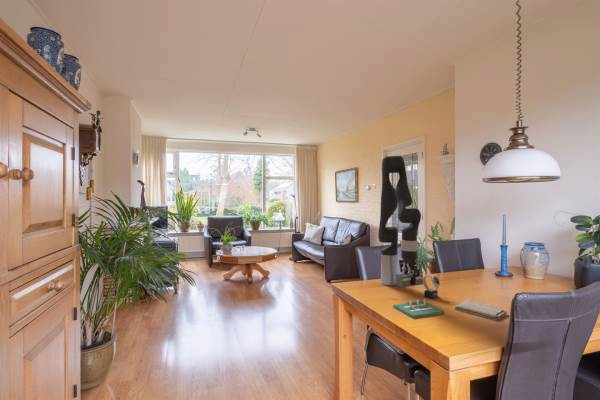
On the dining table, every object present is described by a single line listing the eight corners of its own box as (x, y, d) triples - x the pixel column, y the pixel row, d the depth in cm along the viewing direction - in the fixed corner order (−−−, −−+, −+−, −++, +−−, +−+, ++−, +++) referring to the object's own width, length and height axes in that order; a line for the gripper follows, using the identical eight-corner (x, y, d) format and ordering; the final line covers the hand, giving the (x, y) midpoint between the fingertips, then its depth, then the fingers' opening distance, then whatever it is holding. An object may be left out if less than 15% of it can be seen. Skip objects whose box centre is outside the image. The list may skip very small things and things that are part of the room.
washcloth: (497, 322, 130) (497, 314, 130) (453, 310, 144) (453, 303, 144) (508, 315, 138) (508, 308, 138) (465, 304, 152) (465, 298, 152)
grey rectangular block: (402, 287, 153) (402, 277, 153) (395, 284, 158) (395, 274, 158) (422, 284, 157) (422, 274, 157) (416, 281, 162) (416, 272, 162)
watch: (436, 299, 158) (436, 277, 157) (421, 296, 163) (420, 274, 163) (441, 297, 161) (441, 275, 161) (426, 293, 167) (425, 272, 167)
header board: (393, 307, 148) (393, 297, 147) (422, 303, 152) (422, 293, 152) (412, 318, 134) (412, 307, 134) (443, 313, 139) (443, 303, 139)
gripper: (394, 247, 163) (394, 280, 163) (412, 252, 149) (412, 288, 150) (406, 246, 165) (406, 278, 166) (425, 251, 151) (425, 286, 152)
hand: (409, 283), depth 158 cm, fingers closed on grey rectangular block, 5 cm apart
